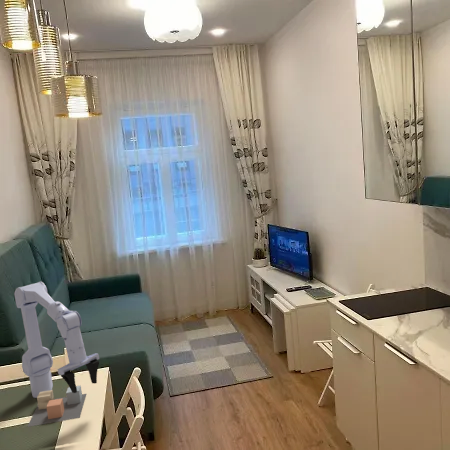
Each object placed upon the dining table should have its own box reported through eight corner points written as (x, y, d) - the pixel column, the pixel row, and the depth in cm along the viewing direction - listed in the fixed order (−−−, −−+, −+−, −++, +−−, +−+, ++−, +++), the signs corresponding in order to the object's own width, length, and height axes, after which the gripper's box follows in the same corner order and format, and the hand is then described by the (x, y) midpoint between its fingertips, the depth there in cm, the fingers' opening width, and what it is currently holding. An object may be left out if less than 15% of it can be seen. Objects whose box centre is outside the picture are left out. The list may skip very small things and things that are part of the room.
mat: (39, 402, 177) (39, 401, 177) (86, 394, 179) (86, 393, 179) (27, 428, 159) (27, 426, 159) (79, 419, 162) (79, 417, 162)
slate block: (69, 399, 176) (68, 387, 176) (82, 396, 177) (80, 385, 176) (67, 404, 172) (66, 392, 171) (80, 402, 173) (78, 390, 172)
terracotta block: (51, 412, 167) (49, 400, 167) (64, 410, 168) (62, 398, 167) (48, 419, 163) (46, 406, 162) (62, 416, 163) (60, 404, 163)
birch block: (41, 403, 175) (39, 392, 174) (54, 401, 176) (52, 389, 175) (38, 409, 170) (36, 397, 170) (51, 407, 171) (50, 395, 171)
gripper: (61, 356, 153) (71, 397, 154) (100, 341, 164) (109, 379, 164) (51, 356, 158) (60, 396, 158) (89, 341, 169) (98, 378, 169)
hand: (84, 387), depth 162 cm, fingers open, 7 cm apart
